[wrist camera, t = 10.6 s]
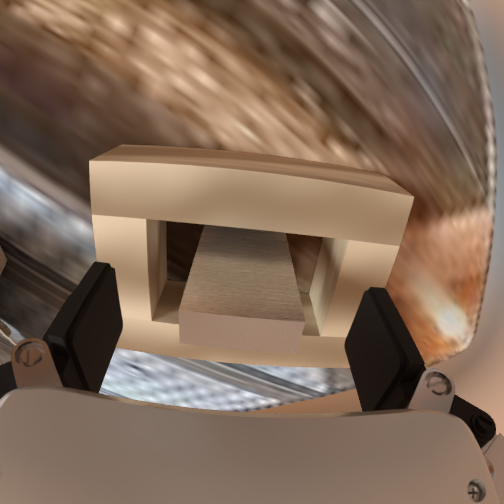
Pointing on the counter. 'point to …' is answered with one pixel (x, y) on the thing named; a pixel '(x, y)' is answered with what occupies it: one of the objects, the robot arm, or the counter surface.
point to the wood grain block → (242, 293)
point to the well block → (250, 217)
